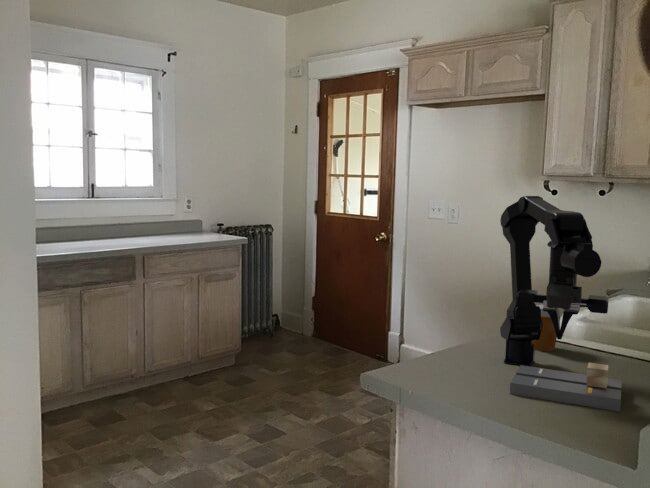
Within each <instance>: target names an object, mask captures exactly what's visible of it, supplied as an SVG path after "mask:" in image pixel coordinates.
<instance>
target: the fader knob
mask: <svg viewBox="0 0 650 488" xmlns="http://www.w3.org/2000/svg"><path fill="white" fill-rule="evenodd" d="M586 370H587V371H586V375H587V385H586V386H593V387H599V388H606V389H607V380H608V378H609V377H608V376H609V365H608V364H602V363H593V362H588V364H587V369H586Z"/></svg>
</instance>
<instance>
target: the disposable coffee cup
mask: <svg viewBox="0 0 650 488" xmlns="http://www.w3.org/2000/svg"><path fill="white" fill-rule="evenodd" d="M534 303H535V304H536V306H539V307H540V309H541V319H542V323H543V326H542V330H541V334H540V338H539V340H533V344H534V345H535V351H539V352H552V351H555V350H556V349H555V348H556V344H557V343H556V342H557V340H558V339H557V336H556V332H555V329H554V326H553V322H552V320H551V318H550V316H549V314H548V312H546V311H543V307H544V305H543V303H536V302H534ZM563 311H564V310H563V309H562V308H559V316H560V318H561V317H562V316H563Z"/></svg>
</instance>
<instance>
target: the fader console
mask: <svg viewBox="0 0 650 488" xmlns="http://www.w3.org/2000/svg"><path fill="white" fill-rule="evenodd" d="M622 381H623V380H622V379H621V378H613V377H608V380H607V389H606V388H599V387H593V386H586V385H587V373H586V374H585V373H579V372H578V373H577V372H571V371H564V370H559V369H558V370H555V369H549V368H543V367H534V366H524V365H519V367H518V368H517V370H516V372H515V374H514V375H513V378H512V379H511V381H510V384H509V385H510V386H509V395H516V396H521V397H527V398H534V399H541V400H547V401H552V402H559V403H565V404H571V405H578V406H583V407H589V408H596V409H601V410H607V411H608V410H609V411H613V412H621V407H622V405H621V404H622V386H623V384H622V383H623V382H622Z"/></svg>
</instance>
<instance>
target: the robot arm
mask: <svg viewBox="0 0 650 488" xmlns="http://www.w3.org/2000/svg"><path fill="white" fill-rule="evenodd" d="M539 223H540V224H542V225H543V226H544V232H545V233H546V234H547V235H548V237H549V238H550V239H549V240H550V241H548V243H547V247H549V249H550V250H549V251H550V253H549V256H550V257H549V270H548V272H549V273H548V284H547V287H546V294H540V293H539V294H538V289H537V290H536V289H533V286H532V267H531V265H532V264H531V246H530V245H531V244H530V243H531V241H532V240H533V238H534V236H535V234H536V232H537V231H536V226H537V225H538V224H539ZM500 226H501V227H502V229H501V230H502V235H503V237H504V238H505V239H506V241H507V242H508V243H509V249H510V250H509V251H510V270H511V271H510V272H511V273H510V274H511V292H512V293H511V294H512V296H511V297H512V301H511V302H510V304H509V306H508V308H507V310H506V317H505V319H504V321H503V322H502V324H501V326H500V327H499V331H500V332H499V333H500V337H501V338H503V339H504V340H505V357H504V360H503V363H504V364H512V365H516V366H517V365H518V366H520V365H522V366H529V367H531V365H532V364H533V363H534V361H535V355H536V354H535V353H536V350H535V345H534V344H533V340H539V338H540V334H541V330H542V326H543V323H542V319H541V309H540V307H539V306H536V304H535V303H543V305H544V307H543V311H546V312H548V314H549V316H550V318H551V320H552V322H553V326H554V329H555V332H556V336H557V339H556V340H562V339H563V337H564V333H565V331H566V328H567V326H568V324H569V322H570V320H571V319H572V316H573V315H579V312H580V309H581V308H587V310H588V311H589V312H590V313H596V314H608V312H609V300H610V299H609V298H608V297H607V296H606V295H605V296H604V295H595V294H593V295H592V294H589V295H588V298H583V297H582V295H583V293H582V292H583V288H582V286H577V282H578V276H580V277H583V278H584V277H586V278H591V277H594V276H595V275H596V274H597V273H599V272H600V269H601V266H602V259H601V256H600V255H599V253H598V252H597V251H596V250H594V248H593V247H594V245H593V240H592V239H593V235H592V233H591V232H590V230H589V227H588V224H587V222H586V218H585V216H584V215H583V214H582V213H581V212H578V211H577V212H576V211H572V210H571V211H570V210H563V209H560V208H558V207H557V206H555V205H553V204H551V203H550V202H548V201H547V200H545V199H543V197H542V196H540V195H523V196H521V197H520V198H518V200H517V201H516V202H514V203H512V204H511V205H508V206H507V207H506V208H505V209H504V211H503V212H502V213H501V215H500ZM559 308H561V309H562V311H563V313H562V319H561V317H560V316H559Z"/></svg>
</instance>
